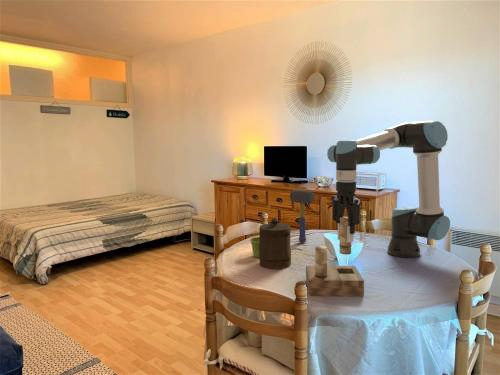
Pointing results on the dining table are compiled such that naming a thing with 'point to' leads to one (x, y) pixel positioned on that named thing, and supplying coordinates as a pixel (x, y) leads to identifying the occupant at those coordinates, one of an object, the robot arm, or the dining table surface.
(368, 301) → the dining table surface
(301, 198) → the rubber mallet
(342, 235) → the beech peg
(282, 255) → the wooden container
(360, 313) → the dining table surface
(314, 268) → the board
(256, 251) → the plant pot
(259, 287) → the dining table surface
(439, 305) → the dining table surface
